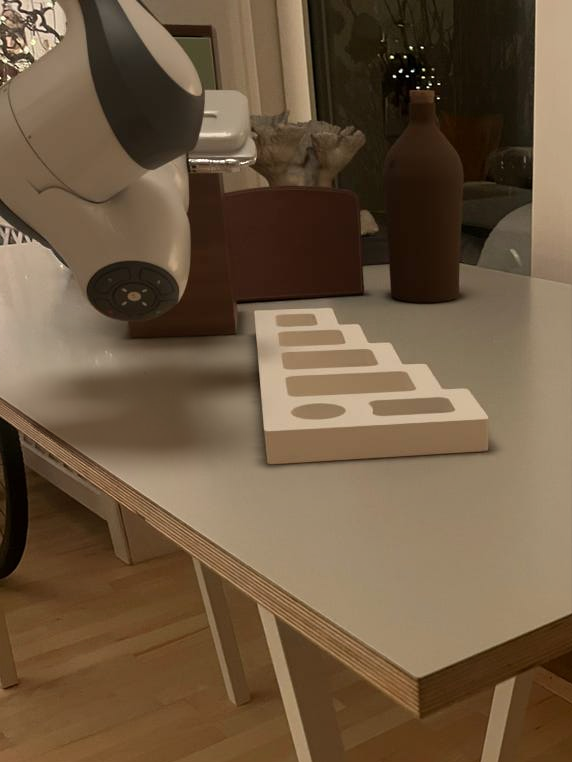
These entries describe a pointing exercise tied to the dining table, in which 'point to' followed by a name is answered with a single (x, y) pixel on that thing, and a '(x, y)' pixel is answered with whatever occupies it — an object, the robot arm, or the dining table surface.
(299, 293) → the letter holder
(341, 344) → the holder
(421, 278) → the olive oil
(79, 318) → the dining table surface
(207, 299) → the stand
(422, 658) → the dining table surface
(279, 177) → the coral
